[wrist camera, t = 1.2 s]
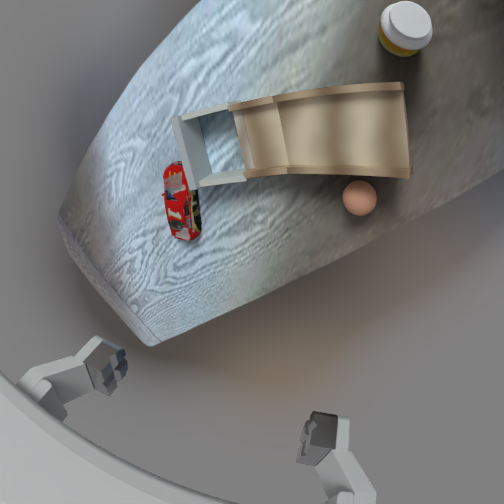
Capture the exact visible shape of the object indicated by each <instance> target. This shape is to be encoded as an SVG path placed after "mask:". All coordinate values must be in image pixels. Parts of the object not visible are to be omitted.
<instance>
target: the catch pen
mask: <svg viewBox="0 0 504 504" xmlns="http://www.w3.org/2000/svg"><path fill="white" fill-rule="evenodd" d="M237 103H241V101H234V102H227V103H223V104H219V105H216V106H212V107H208V108H204V109H201V110H197V111H194V112H191V113H187V114H184V115H180V116H176V117H173V118H170V120H171V124H172V128H173V132H174V135H175V139H176V143H177V147H178V150H179V154H180V158H181V161H182V165H183V169H184V172H185V176H186V179H187V183H188V186H189V190H196V189H198V188H200V187H204V186H211V185H219V184H226V183H234V182H243V181H247V180H248V179H250V178H244V177H245V175H243V172H244V171H246V168H245V169H238V170H231V171H224V172H217V173H212V170H211V166H210V162H209V159H208V155H207V151H206V147H205V143H204V139H203V135H202V131H201V127H200V123H199V119H198V117H200V116H204V115H207V114H211V113H215V112H219V111H223V110H228V109H229V108H228V107H229V105H232V104H237Z"/></svg>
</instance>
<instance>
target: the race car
mask: <svg viewBox="0 0 504 504" xmlns="http://www.w3.org/2000/svg"><path fill="white" fill-rule="evenodd" d="M163 178H164V189H165V193H163V194H162V196H164V200H165V208H166V214H167V219H168V223H169V226H170V229H171V233H172V235H173V236H174V237H175V238H177V239H181V240H192V239H195V238H196V237H197V236H198V235H199V234H200V231H201V227H200V226H201V224H202V223H201V217H200V216H199V215H200V209H199V200H198V191H197V189H196V190H189V186H188V183H187V179H186V176H185V172H184V169H183V165H182V161H177V162H174V163H172V164H171V165H170V166H168V167H167V168H166V169H165V171H164V175H163Z"/></svg>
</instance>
